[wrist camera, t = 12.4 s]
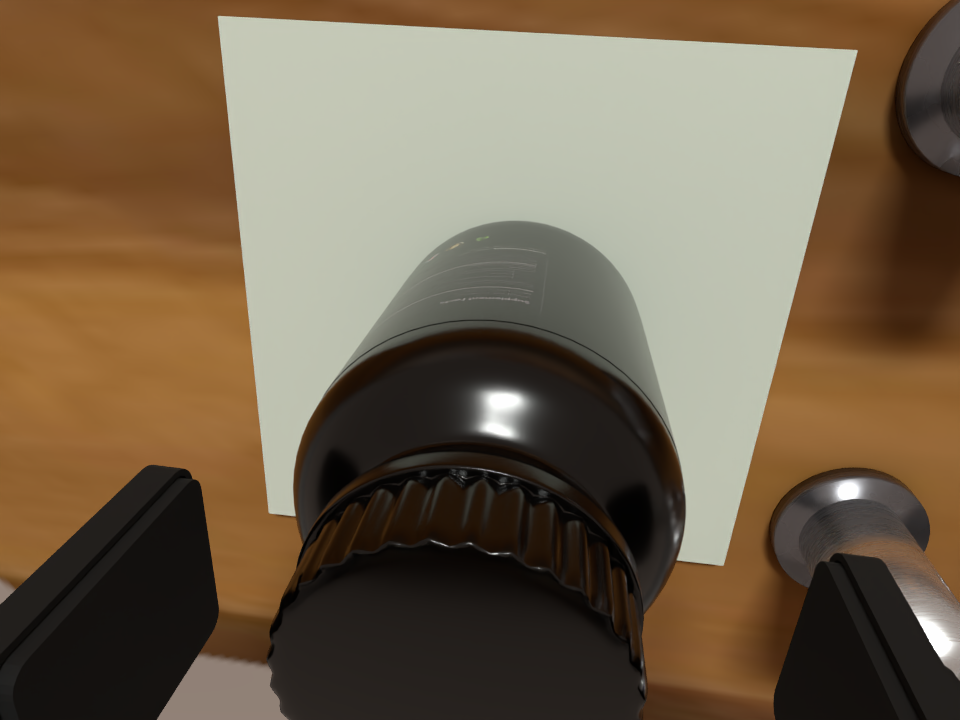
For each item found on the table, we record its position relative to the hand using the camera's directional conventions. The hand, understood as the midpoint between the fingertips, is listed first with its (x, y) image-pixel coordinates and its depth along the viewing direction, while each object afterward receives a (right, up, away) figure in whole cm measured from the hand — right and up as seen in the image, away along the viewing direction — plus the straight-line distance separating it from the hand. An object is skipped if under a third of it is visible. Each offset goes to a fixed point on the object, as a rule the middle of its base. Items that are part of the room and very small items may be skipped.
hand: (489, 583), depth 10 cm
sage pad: (+1, +5, +9) cm, 10 cm away
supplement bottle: (+1, +4, +9) cm, 10 cm away
